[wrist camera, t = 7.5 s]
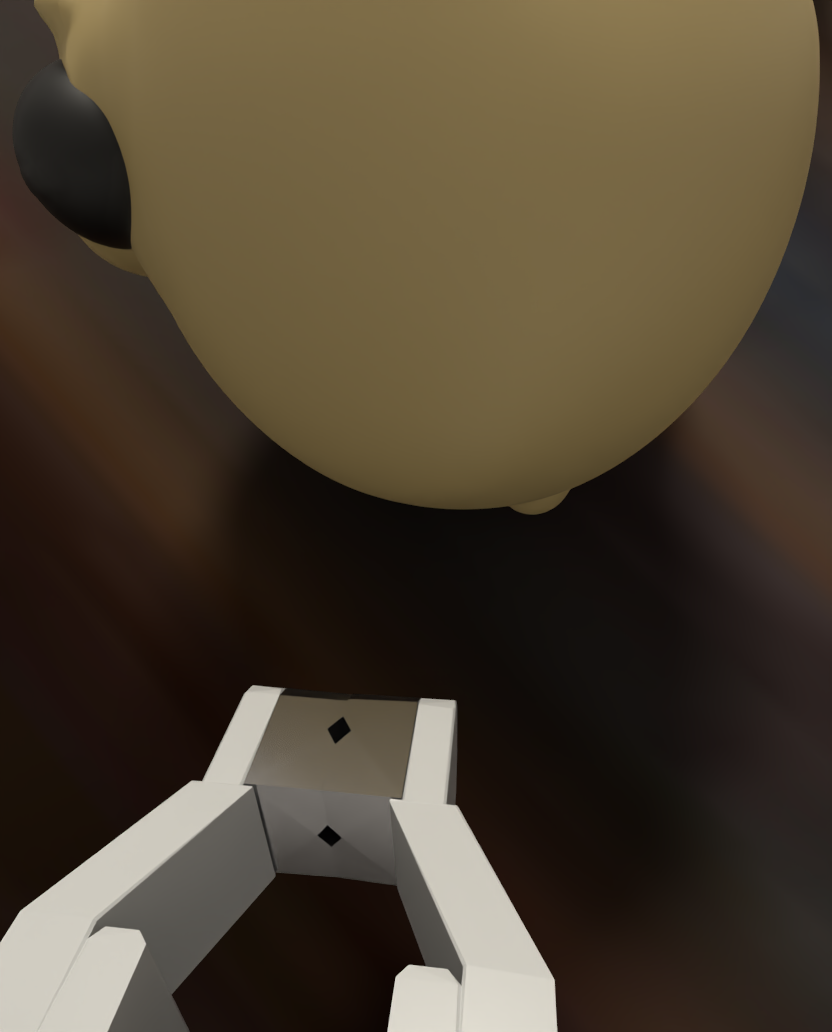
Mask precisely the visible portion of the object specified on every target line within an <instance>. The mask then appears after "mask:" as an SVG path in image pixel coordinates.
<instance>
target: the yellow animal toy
mask: <svg viewBox="0 0 832 1032" xmlns="http://www.w3.org/2000/svg"><path fill="white" fill-rule="evenodd" d="M34 6H35V8H36V10H37V11H38V13H39V15H40V16H41V18H42V19H43V20H44V21H45V23H46V24H47V25H48V26H49V28H50V30H51V31H52V33H53V35H54V38H55V41H56V44H57V47H58V51H59V58H60V60H57V61H55V62H53V63H51V64H49V65H48V66H46V67H45V68H43V69H42V70H41V71H39V72H38V73H37V74H36V75H35V76H34V77H33V78H32V79H31V80H30V81H29V83H28V84H27V85H26V87H25V89H24V90H23V92H22V94H21V96H20V98H19V101H18V103H17V106H16V110H15V114H14V120H13V144H14V150H15V154H16V158H17V161H18V164H19V167H20V171H21V175H22V177H23V179H24V181H25V183H26V185H27V186H28V188H29V189H30V191H31V192H32V193H33V194H34V195H35V196H36V197H37V198H38V199H39V201H40V202H41V203H42V204H43V205H44V207H45V208H46V209H47V210H48V211H49V212H50V213H51V214H52V215H53V216H54V217H55V218H57V219H58V220H59V221H60V222H61V223H63V224H64V225H65V226H67V227H68V228H69V229H71V230H72V231H74V232H75V233H77V234H78V235H79V236H80V237H81V239H82V240H83V241H84V242H85V243H86V244H87V246H88V247H89V248H90V249H92V250H93V251H94V252H95V253H96V254H97V255H99V256H100V257H101V258H103V259H104V260H106V261H107V262H109V263H111V264H112V265H114V266H116V267H118V268H121V269H123V270H125V271H128V272H131V273H134V274H138V275H142V276H146V277H149V279H150V281H151V282H152V284H153V285H154V287H155V288H156V290H157V291H158V293H159V295H160V296H161V298H162V299H163V301H164V302H165V304H166V305H167V307H168V308H169V310H170V312H171V313H172V315H173V317H174V319H175V321H176V322H177V324H178V326H179V328H180V330H181V331H182V333H183V335H184V337H185V338H186V340H187V342H188V343H189V345H190V347H191V348H192V350H193V351H194V353H195V354H196V356H197V357H198V359H199V360H200V362H201V363H202V365H203V366H204V367H205V369H206V370H207V372H208V373H209V374H210V375H211V377H212V378H213V379H214V381H215V382H216V383H217V384H218V386H219V387H220V388H221V389H222V390H223V392H224V393H225V394H226V395H227V396H228V397H229V398H230V400H231V401H232V402H233V403H234V404H235V405H236V406H237V407H238V408H239V409H240V410H241V411H242V412H243V413H244V414H245V415H246V416H247V417H248V418H249V419H250V420H251V421H252V422H253V423H254V424H255V425H256V426H257V427H258V428H259V429H260V430H261V431H263V432H264V433H265V434H266V435H267V436H268V437H269V438H271V439H272V440H273V441H274V442H276V443H277V444H278V445H279V446H281V447H282V448H283V449H284V450H286V451H287V452H288V453H290V454H291V455H293V456H294V457H295V458H297V459H298V460H300V461H301V462H303V463H304V464H306V465H308V466H309V467H311V468H312V469H314V470H316V471H317V472H319V473H321V474H323V475H325V476H326V477H328V478H330V479H332V480H334V481H336V482H338V483H341V484H343V485H345V486H347V487H350V488H352V489H355V490H357V491H360V492H363V493H366V494H369V495H372V496H375V497H379V498H382V499H386V500H390V501H394V502H399V503H404V504H409V505H415V506H422V507H430V508H440V509H487V508H497V507H505V506H509V507H511V508H512V509H513V510H515V511H517V512H520V513H524V514H532V515H535V514H541V513H544V512H547V511H549V510H551V509H553V508H555V507H556V506H557V505H558V504H559V503H561V501H562V500H563V499H564V498H565V497H566V495H567V494H568V492H569V491H570V489H572V488H574V487H576V486H579V485H581V484H583V483H585V482H587V481H589V480H591V479H593V478H595V477H597V476H599V475H601V474H603V473H605V472H606V471H608V470H610V469H612V468H613V467H615V466H617V465H618V464H620V463H621V462H623V461H624V460H626V459H627V458H629V457H630V456H632V455H633V454H635V453H636V452H638V451H639V450H640V449H642V448H643V447H644V446H646V445H647V444H648V443H649V442H651V441H652V440H653V439H654V438H656V437H657V436H658V435H659V434H660V433H662V432H663V431H664V430H665V429H666V428H667V427H668V426H670V425H671V424H672V423H673V422H674V421H675V420H676V419H677V418H678V417H679V416H680V415H681V414H682V413H683V412H684V411H685V410H686V409H687V408H688V407H689V406H690V405H691V404H692V403H693V402H694V401H695V400H696V399H697V398H698V396H699V395H700V394H701V393H702V392H703V391H704V390H705V388H706V387H707V386H708V385H709V384H710V382H711V381H712V380H713V379H714V377H715V376H716V375H717V374H718V372H719V371H720V370H721V368H722V367H723V366H724V364H725V363H726V362H727V360H728V359H729V357H730V356H731V354H732V353H733V351H734V350H735V348H736V347H737V345H738V344H739V342H740V341H741V339H742V338H743V336H744V334H745V333H746V331H747V329H748V328H749V326H750V324H751V323H752V321H753V319H754V317H755V315H756V314H757V312H758V310H759V308H760V306H761V304H762V302H763V300H764V298H765V296H766V294H767V292H768V290H769V288H770V286H771V283H772V281H773V279H774V277H775V274H776V272H777V270H778V267H779V265H780V263H781V260H782V258H783V255H784V252H785V250H786V247H787V244H788V242H789V239H790V236H791V233H792V230H793V227H794V224H795V221H796V217H797V214H798V211H799V207H800V204H801V200H802V196H803V192H804V188H805V184H806V180H807V175H808V171H809V166H810V161H811V156H812V150H813V144H814V137H815V130H816V122H817V112H818V100H819V81H820V50H819V34H818V25H817V19H816V13H815V8H814V4H813V0H34Z"/></svg>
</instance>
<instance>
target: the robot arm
mask: <svg viewBox="0 0 832 1032" xmlns="http://www.w3.org/2000/svg"><path fill="white" fill-rule="evenodd" d="M456 775H457V701H455V700H441V699H426V698H415V697H398V696H382V695H366V694H342V693H331V692H321V691H311V690H301V689H291V688H276V687H265V686H255V685H252V686H251V687H250V688H249V689H248V690H247V692H246V693H245V694H244V695H243V697H242V699H241V701H240V704H239V706H238V708H237V710H236V712H235V714H234V716H233V718H232V720H231V722H230V724H229V726H228V729H227V731H226V733H225V735H224V737H223V739H222V741H221V743H220V745H219V747H218V749H217V751H216V754H215V756H214V758H213V760H212V762H211V764H210V766H209V768H208V770H207V772H206V774H205V776H204V779H203V781H191V782H189V783H188V784H187V785H185V786H184V787H183V788H181V789H180V790H179V791H178V792H176V793H175V794H174V795H172V796H171V797H170V798H168V799H167V800H166V801H164V802H163V803H162V804H160V805H159V806H158V807H156V808H155V809H154V810H153V811H151V812H150V813H149V814H147V815H146V816H145V817H143V818H142V819H141V820H139V821H138V822H137V823H135V824H134V825H133V826H132V827H130V828H129V829H128V830H126V831H125V832H124V833H122V834H121V835H120V836H118V837H117V838H116V839H114V840H113V841H112V842H110V843H109V844H108V845H107V846H105V847H104V848H103V849H101V850H100V851H99V852H97V853H96V854H95V855H93V856H92V857H91V858H89V859H88V860H87V861H86V862H84V863H83V864H82V865H80V866H79V867H78V868H76V869H75V870H74V871H72V872H71V873H70V874H68V875H67V876H66V877H64V878H63V879H62V880H61V881H59V882H58V883H57V884H55V885H54V886H53V887H51V888H50V889H49V890H47V891H46V892H45V893H43V894H42V895H41V896H40V897H38V898H37V899H36V900H34V901H33V902H32V903H30V904H29V905H28V906H26V907H25V908H24V909H22V910H21V911H20V912H19V914H18V916H17V917H16V919H15V920H14V922H13V924H12V925H11V927H10V928H9V930H8V931H7V933H6V935H5V936H4V938H3V939H2V941H1V942H0V1032H189V1029H188V1027H187V1025H186V1023H185V1021H184V1019H183V1017H182V1015H181V1013H180V1011H179V1009H178V1007H177V1005H176V1003H175V1001H174V999H173V997H172V995H171V994H172V993H173V992H174V991H175V990H176V989H177V987H178V986H179V985H180V984H181V983H182V982H183V981H184V980H185V978H186V977H187V976H188V975H189V974H190V973H191V972H192V970H193V969H194V968H195V967H196V966H197V965H198V964H199V963H200V961H201V960H202V959H203V958H204V957H205V956H206V955H207V953H208V952H209V951H210V950H211V949H212V948H213V947H214V946H215V944H216V943H217V942H218V941H219V940H220V939H221V938H222V936H223V935H224V934H225V933H226V932H227V931H228V930H229V929H230V927H231V926H232V925H233V924H234V923H235V922H236V921H237V919H238V918H239V917H240V916H241V915H242V914H243V913H244V912H245V910H246V909H247V908H248V907H249V906H250V905H251V904H252V902H253V901H254V900H255V899H256V898H257V897H258V896H259V894H260V893H261V892H262V891H263V890H264V889H265V888H266V887H267V885H268V884H269V883H270V882H271V881H272V880H273V879H274V877H275V872H281V873H294V874H306V875H318V876H331V877H340V878H347V879H354V880H362V881H369V882H376V883H383V884H390V885H397V888H398V891H399V894H400V897H401V900H402V902H403V905H404V908H405V910H406V913H407V916H408V918H409V921H410V924H411V926H412V929H413V932H414V935H415V937H416V940H417V943H418V945H419V948H420V951H421V953H422V956H423V959H424V961H425V964H426V967H425V966H416V965H408V966H407V967H406V968H405V969H404V970H403V971H401V972H400V973H399V974H398V975H397V976H396V978H395V985H394V992H393V998H392V1005H391V1011H390V1018H389V1024H388V1031H387V1032H557V1019H556V1000H555V980H554V978H553V976H552V975H551V973H550V971H549V969H548V967H547V966H546V964H545V962H544V960H543V958H542V957H541V955H540V953H539V951H538V949H537V948H536V946H535V944H534V942H533V940H532V939H531V937H530V935H529V933H528V931H527V930H526V928H525V926H524V924H523V922H522V921H521V919H520V917H519V915H518V913H517V912H516V910H515V908H514V906H513V904H512V903H511V901H510V899H509V897H508V895H507V894H506V892H505V890H504V888H503V886H502V885H501V883H500V881H499V879H498V877H497V876H496V874H495V872H494V870H493V869H492V867H491V865H490V863H489V861H488V860H487V858H486V856H485V854H484V852H483V851H482V849H481V847H480V845H479V843H478V842H477V840H476V838H475V836H474V834H473V833H472V831H471V829H470V827H469V825H468V824H467V822H466V820H465V818H464V816H463V815H462V813H461V811H460V809H459V807H458V806H457V805H455V799H456Z"/></svg>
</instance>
